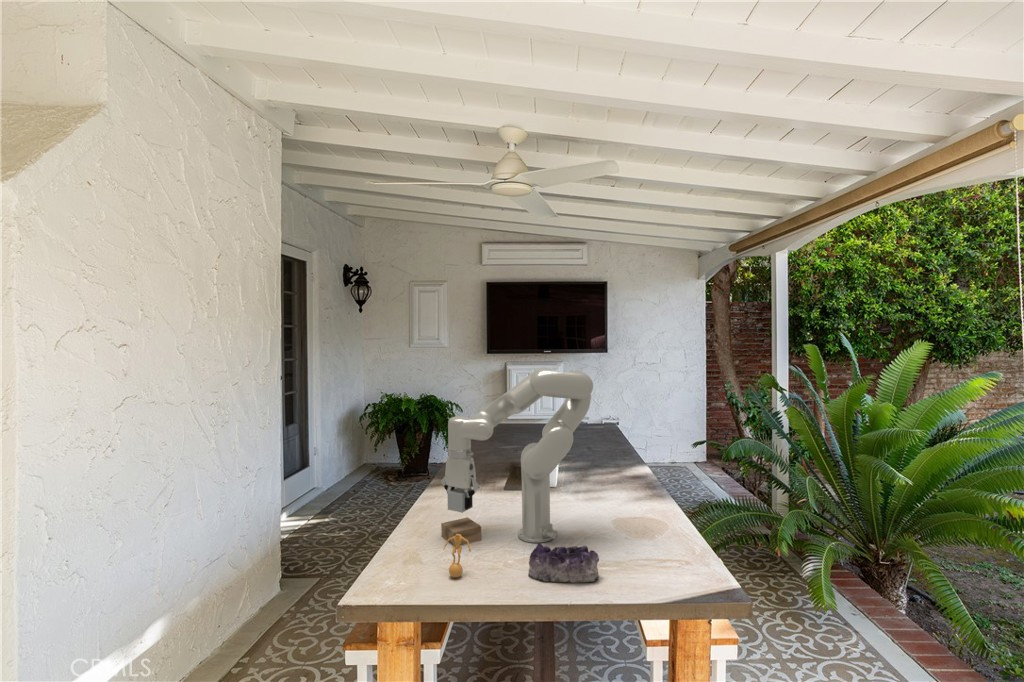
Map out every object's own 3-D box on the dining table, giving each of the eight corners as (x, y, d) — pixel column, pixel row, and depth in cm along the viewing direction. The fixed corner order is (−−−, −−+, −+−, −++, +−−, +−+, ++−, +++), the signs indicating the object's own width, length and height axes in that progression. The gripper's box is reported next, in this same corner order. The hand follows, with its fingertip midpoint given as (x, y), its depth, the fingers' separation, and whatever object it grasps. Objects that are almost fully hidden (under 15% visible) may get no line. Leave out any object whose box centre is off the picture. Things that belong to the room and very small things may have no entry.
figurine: (439, 578, 162) (439, 537, 161) (446, 569, 168) (446, 529, 167) (467, 581, 160) (466, 540, 159) (473, 571, 166) (472, 531, 165)
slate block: (472, 507, 191) (472, 489, 191) (462, 512, 186) (462, 494, 186) (458, 504, 194) (458, 487, 194) (447, 509, 189) (447, 491, 189)
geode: (529, 588, 156) (527, 551, 157) (527, 574, 167) (525, 540, 168) (602, 584, 156) (600, 547, 157) (595, 570, 168) (593, 536, 169)
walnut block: (481, 540, 189) (481, 526, 189) (454, 547, 184) (454, 532, 184) (467, 531, 198) (467, 517, 197) (441, 537, 192) (441, 523, 192)
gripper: (487, 454, 188) (487, 507, 189) (445, 448, 197) (446, 499, 198) (474, 459, 182) (475, 514, 183) (432, 453, 190) (433, 505, 191)
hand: (460, 505), depth 190 cm, fingers closed on slate block, 6 cm apart
